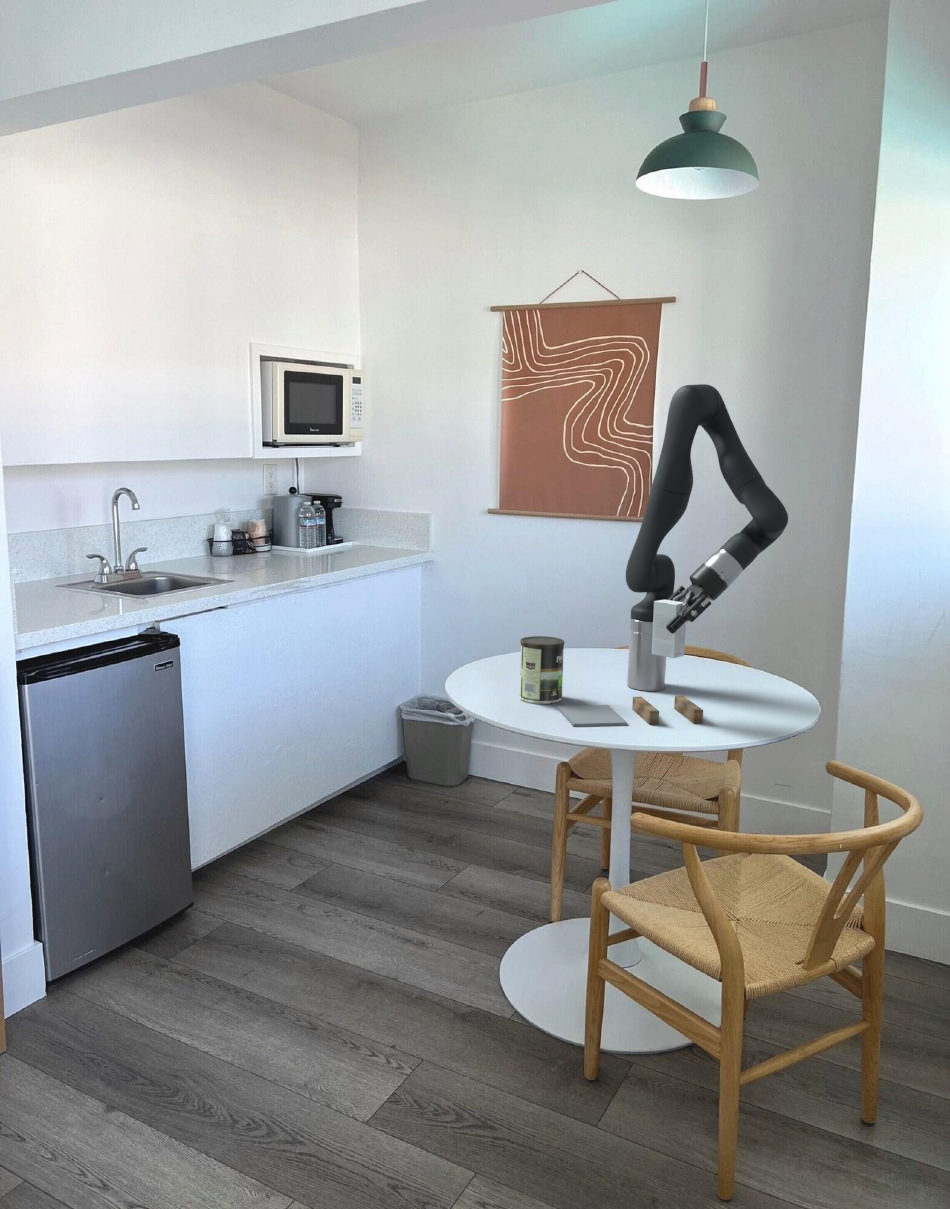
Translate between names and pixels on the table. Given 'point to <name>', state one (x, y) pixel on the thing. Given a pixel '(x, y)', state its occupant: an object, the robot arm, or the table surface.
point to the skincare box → (662, 638)
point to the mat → (591, 715)
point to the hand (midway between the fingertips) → (662, 627)
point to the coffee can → (541, 669)
